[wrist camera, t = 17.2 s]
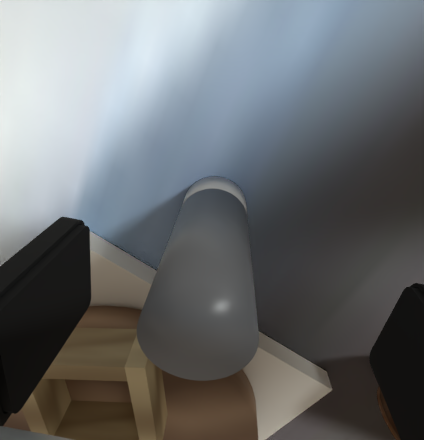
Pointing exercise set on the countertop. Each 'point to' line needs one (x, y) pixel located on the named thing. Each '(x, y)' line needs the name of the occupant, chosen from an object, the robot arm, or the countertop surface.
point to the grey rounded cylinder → (203, 289)
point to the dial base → (255, 370)
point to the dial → (130, 391)
